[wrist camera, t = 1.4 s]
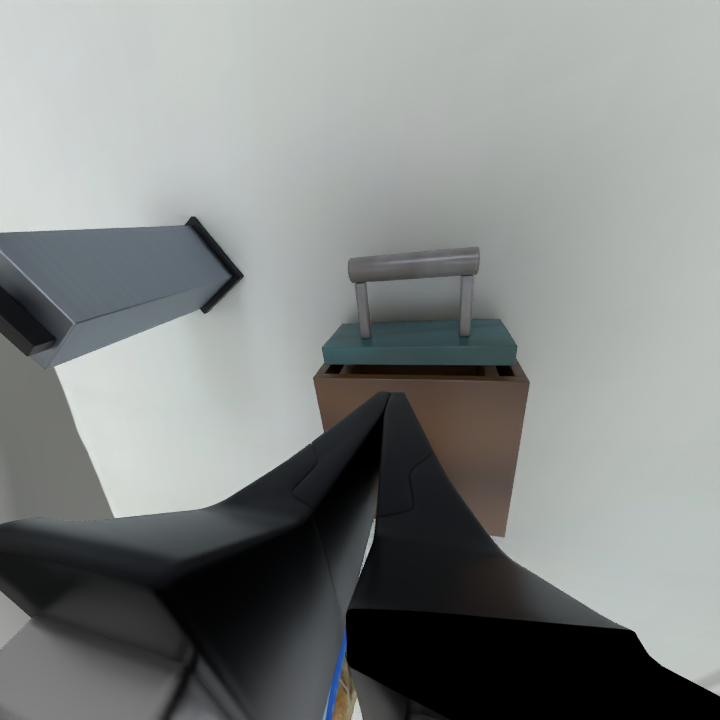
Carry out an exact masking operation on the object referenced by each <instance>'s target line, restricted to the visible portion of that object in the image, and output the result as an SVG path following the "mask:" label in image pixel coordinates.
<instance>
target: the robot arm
mask: <svg viewBox="0 0 720 720" xmlns="http://www.w3.org/2000/svg"><path fill="white" fill-rule="evenodd" d="M376 506H377V510H376ZM375 510H376V524H375V534H374V540H373V543H372V546H371V549H370V551H369V554H368V556H367V559H366V562H365V564H364V567H363V569H362V572H361V575H360V577H359V573H360V569H361V565H362V561H363V557H364V553H365V549H366V546H367V542H368V538H369V534H370V530H371V526H372V522H373V518H374V514H375ZM358 577H359V580H358ZM357 581H358V583H357ZM0 591H1V592H3V593H4V594H5V595H6V596H7V597H8V598H10V599H11V600H12V601H13V602H14V603H15V604H16V605H17V606H19V607H20V608H21V609H22V610H23V611H24V612H25V613H27V614H28V615H29V616H30V617H31V619H30V620H29V621H28V622H27V623H26V624H25V625H24V626H23V627H22V628H21V629H20V630H19V631H18V632H17V633H16V634H15V635H14V636H13V637H12V638H11V639H10V640H9V641H8V642H7V643H6V644H5V645H4V646H3V647H2V648H1V649H0V720H322V719H323V715H324V711H325V707H326V703H327V699H328V695H329V691H330V687H331V684H332V680H333V676H334V672H335V668H336V664H337V660H338V656H339V652H340V648H341V644H342V640H343V636H344V633H345V630H344V629H345V628H346V642H347V661H348V665H349V669H350V672H351V676H352V680H353V683H354V687H355V690H356V694H357V697H358V701H359V705H360V708H361V712H362V717H363V720H720V696H718V695H716V694H714V693H712V692H710V691H709V690H707V689H705V688H703V687H701V686H699V685H697V684H695V683H693V682H691V681H689V680H687V679H686V678H684V677H682V676H680V675H678V674H676V673H674V672H672V671H670V670H668V669H666V668H665V667H663V666H661V665H660V664H659V663H658V662H656V661H655V660H654V659H653V658H652V657H650V656H649V654H648V653H647V652H646V650H645V648H644V647H643V645H642V644H641V642H640V640H639V639H638V637H637V635H636V633H635V632H634V631H632V630H630V629H627V628H625V627H623V626H621V625H619V624H617V623H614V622H613V621H611V620H609V619H607V618H605V617H604V616H602V615H600V614H598V613H597V612H595V611H593V610H592V609H590V608H589V607H587V606H585V605H584V604H582V603H581V602H579V601H577V600H576V599H574V598H572V597H571V596H569V595H568V594H566V593H564V592H563V591H561V590H559V589H558V588H556V587H555V586H553V585H551V584H550V583H548V582H547V581H545V580H543V579H542V578H540V577H538V576H537V575H535V574H534V573H532V572H530V571H529V570H527V569H525V568H524V567H522V566H521V565H519V564H517V563H516V562H514V561H513V560H512V559H510V558H509V557H508V556H507V555H506V554H505V553H504V552H503V551H502V550H501V549H500V548H499V547H498V546H497V545H496V544H495V542H494V541H493V540H492V538H491V537H490V536H489V534H488V533H487V532H486V530H485V529H484V527H483V526H482V525H481V523H480V522H479V520H478V519H477V518H476V516H475V515H474V514H473V512H472V511H471V509H470V508H469V507H468V505H467V504H466V502H465V501H464V500H463V498H462V497H461V495H460V494H459V493H458V491H457V490H456V488H455V487H454V485H453V484H452V482H451V481H450V479H449V478H448V476H447V474H446V472H445V471H444V469H443V467H442V465H441V464H440V462H439V460H438V458H437V456H436V454H435V452H434V450H433V448H432V446H431V444H430V442H429V440H428V438H427V436H426V434H425V432H424V430H423V428H422V426H421V424H420V422H419V420H418V419H417V417H416V415H415V413H414V411H413V409H412V407H411V405H410V403H409V401H408V399H407V397H406V395H405V393H404V392H392V393H390V392H383V391H379V392H377V393H376V394H374V395H373V396H372V397H371V398H369V399H368V400H367V401H365V402H364V403H363V404H361V405H360V406H359V407H357V408H356V409H355V410H353V411H352V412H351V413H350V414H348V415H347V416H346V417H344V418H343V419H342V420H340V421H339V422H338V423H336V424H335V425H334V426H332V427H331V428H330V429H329V430H327V431H326V432H325V433H323V434H322V435H321V436H319V437H318V438H317V439H315V440H314V441H313V442H312V444H309V445H307V446H306V447H305V448H303V449H302V450H301V451H299V452H298V453H297V454H295V455H294V456H293V457H291V458H290V459H288V460H287V461H285V462H284V463H282V464H281V465H279V466H278V467H276V468H275V469H273V470H272V471H270V472H269V473H267V474H265V475H264V476H262V477H261V478H259V479H258V480H256V481H254V482H253V483H251V484H250V485H248V486H246V487H245V488H243V489H242V490H240V491H239V492H237V493H235V494H234V495H232V496H231V497H229V498H227V499H225V500H224V501H222V502H220V503H217V504H215V505H212V506H210V507H206V508H202V509H198V510H190V511H180V512H171V513H161V514H152V515H142V516H133V517H123V518H114V519H104V520H90V521H64V520H57V519H51V518H45V517H38V518H30V519H24V520H17V521H12V522H7V523H3V524H0Z"/></svg>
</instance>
